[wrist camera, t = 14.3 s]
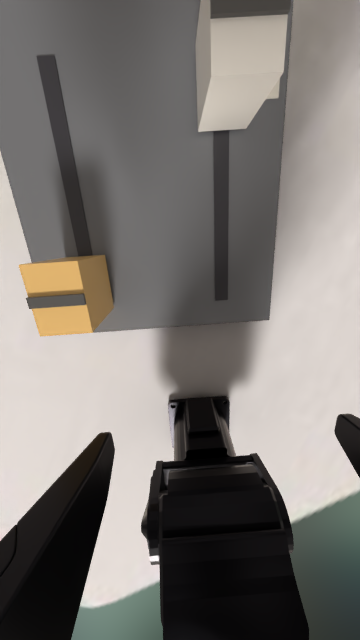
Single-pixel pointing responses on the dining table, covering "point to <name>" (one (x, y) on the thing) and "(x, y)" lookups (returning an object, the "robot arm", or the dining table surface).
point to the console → (138, 160)
